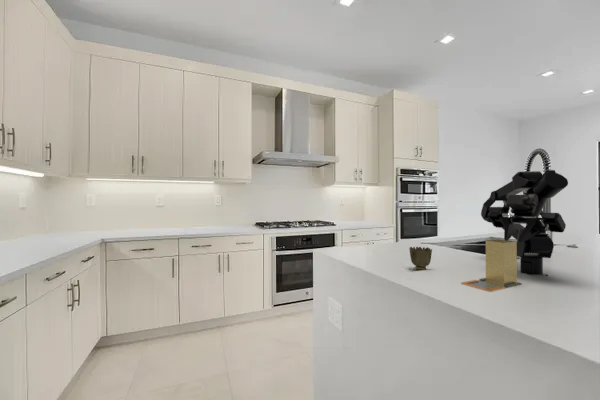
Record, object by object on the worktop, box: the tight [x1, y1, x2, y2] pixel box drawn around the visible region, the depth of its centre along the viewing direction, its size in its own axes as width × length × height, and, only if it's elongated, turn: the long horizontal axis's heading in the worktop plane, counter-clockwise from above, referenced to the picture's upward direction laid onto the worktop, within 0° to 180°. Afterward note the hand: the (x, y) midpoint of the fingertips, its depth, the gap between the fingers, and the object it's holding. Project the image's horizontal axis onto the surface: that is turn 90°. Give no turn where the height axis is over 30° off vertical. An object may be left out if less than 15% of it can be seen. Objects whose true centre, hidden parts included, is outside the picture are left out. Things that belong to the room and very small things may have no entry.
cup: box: [408, 246, 433, 272], centre depth 100 cm, size 8×7×8 cm
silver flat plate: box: [460, 277, 523, 293], centre depth 80 cm, size 15×8×1 cm, turn 115°
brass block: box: [485, 239, 518, 286], centre depth 81 cm, size 6×5×12 cm
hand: (512, 240), depth 84 cm, fingers open, 4 cm apart
